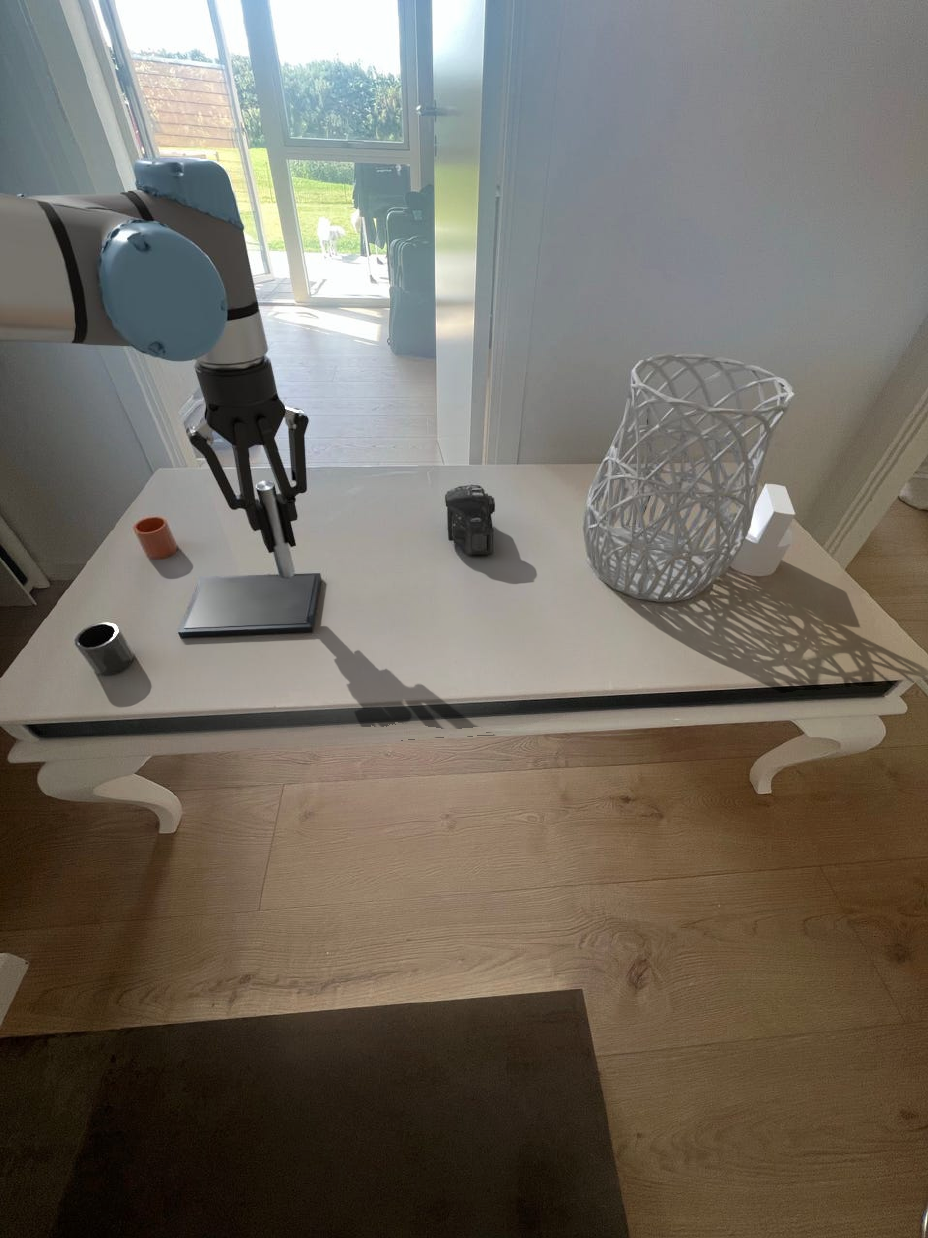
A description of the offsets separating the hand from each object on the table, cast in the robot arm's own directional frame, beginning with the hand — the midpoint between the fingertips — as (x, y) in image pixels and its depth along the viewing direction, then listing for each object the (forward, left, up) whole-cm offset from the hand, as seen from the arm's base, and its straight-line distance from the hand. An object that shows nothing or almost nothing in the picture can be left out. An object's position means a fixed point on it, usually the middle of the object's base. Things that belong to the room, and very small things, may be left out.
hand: (279, 543), depth 70 cm
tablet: (-5, +3, -11) cm, 13 cm away
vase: (+55, -17, -11) cm, 59 cm away
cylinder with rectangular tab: (+71, -25, -11) cm, 76 cm away
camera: (+32, +3, -11) cm, 34 cm away
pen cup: (-15, +24, -11) cm, 30 cm away
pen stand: (-24, +1, -11) cm, 27 cm away
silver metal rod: (0, +1, -6) cm, 6 cm away
